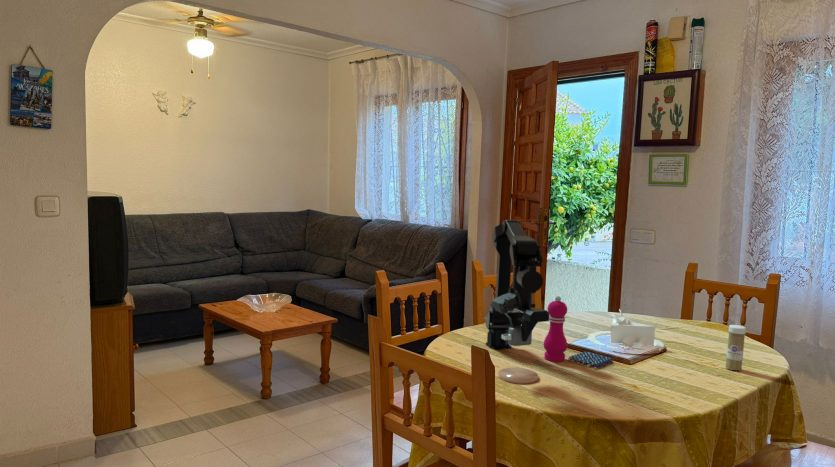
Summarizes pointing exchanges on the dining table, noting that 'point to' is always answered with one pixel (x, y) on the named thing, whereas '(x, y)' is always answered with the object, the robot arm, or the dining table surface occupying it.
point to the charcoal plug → (516, 336)
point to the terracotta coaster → (518, 375)
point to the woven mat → (590, 360)
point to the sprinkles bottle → (735, 347)
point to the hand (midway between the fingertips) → (520, 339)
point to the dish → (628, 334)
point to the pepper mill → (556, 332)
